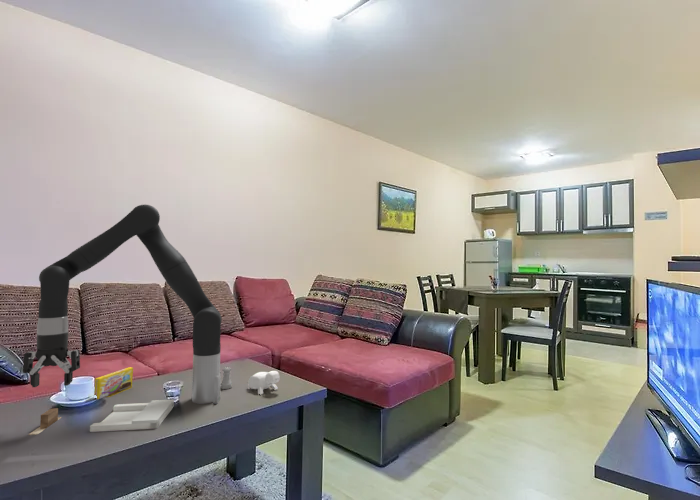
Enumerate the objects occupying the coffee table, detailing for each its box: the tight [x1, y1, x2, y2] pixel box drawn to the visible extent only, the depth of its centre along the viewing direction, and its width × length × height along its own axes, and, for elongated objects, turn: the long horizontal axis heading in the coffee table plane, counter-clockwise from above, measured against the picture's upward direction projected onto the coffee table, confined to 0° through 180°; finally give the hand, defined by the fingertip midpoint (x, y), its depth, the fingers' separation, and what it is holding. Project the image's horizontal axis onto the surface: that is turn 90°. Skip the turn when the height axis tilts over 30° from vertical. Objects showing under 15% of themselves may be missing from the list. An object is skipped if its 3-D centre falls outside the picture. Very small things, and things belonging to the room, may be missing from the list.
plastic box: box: [89, 399, 175, 433], centre depth 119 cm, size 18×17×3 cm
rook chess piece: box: [220, 366, 233, 390], centre depth 153 cm, size 4×4×8 cm
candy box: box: [93, 366, 134, 400], centre depth 143 cm, size 16×2×8 cm, turn 168°
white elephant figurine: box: [246, 370, 281, 396], centre depth 149 cm, size 9×8×15 cm
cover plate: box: [27, 407, 62, 436], centre depth 116 cm, size 14×12×5 cm
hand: (51, 385), depth 115 cm, fingers open, 8 cm apart
